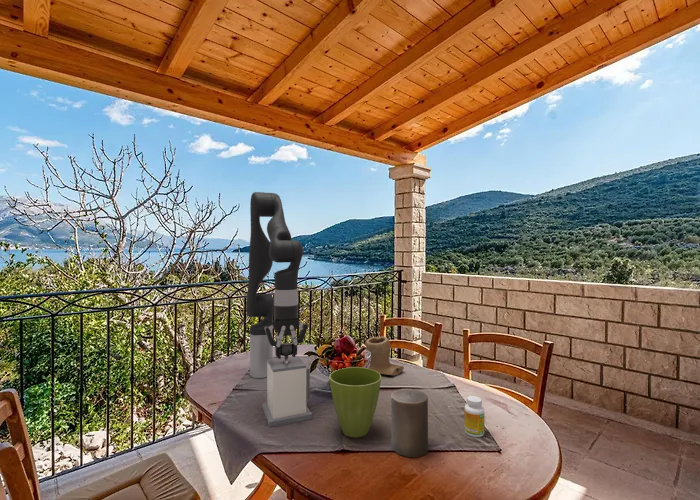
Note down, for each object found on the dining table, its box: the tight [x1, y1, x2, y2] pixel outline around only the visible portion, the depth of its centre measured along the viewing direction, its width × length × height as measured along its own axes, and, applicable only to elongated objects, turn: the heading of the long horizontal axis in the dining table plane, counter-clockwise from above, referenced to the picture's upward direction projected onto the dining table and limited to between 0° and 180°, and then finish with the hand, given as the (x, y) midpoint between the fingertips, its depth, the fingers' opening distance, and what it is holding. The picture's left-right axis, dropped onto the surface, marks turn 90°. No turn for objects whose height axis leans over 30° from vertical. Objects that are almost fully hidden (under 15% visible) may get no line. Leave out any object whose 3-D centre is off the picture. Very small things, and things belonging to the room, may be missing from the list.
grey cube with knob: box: [262, 355, 313, 428], centre depth 112 cm, size 13×14×16 cm
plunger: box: [280, 342, 293, 364], centre depth 112 cm, size 8×8×19 cm
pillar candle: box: [390, 388, 429, 458], centre depth 93 cm, size 10×10×15 cm
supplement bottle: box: [463, 395, 485, 438], centre depth 101 cm, size 5×5×10 cm
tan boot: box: [364, 335, 404, 376], centre depth 148 cm, size 15×12×15 cm
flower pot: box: [328, 366, 382, 438], centre depth 102 cm, size 15×15×16 cm
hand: (286, 356), depth 112 cm, fingers closed on plunger, 4 cm apart
